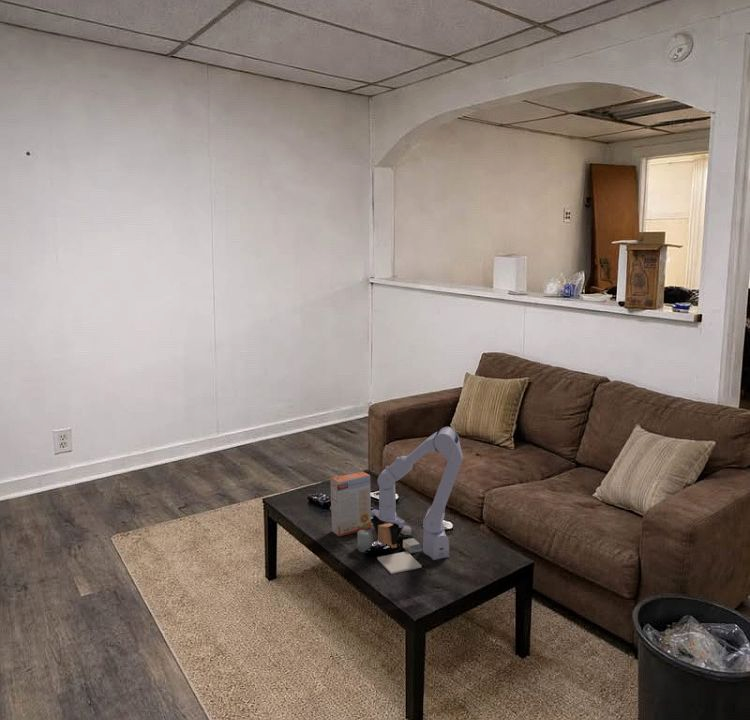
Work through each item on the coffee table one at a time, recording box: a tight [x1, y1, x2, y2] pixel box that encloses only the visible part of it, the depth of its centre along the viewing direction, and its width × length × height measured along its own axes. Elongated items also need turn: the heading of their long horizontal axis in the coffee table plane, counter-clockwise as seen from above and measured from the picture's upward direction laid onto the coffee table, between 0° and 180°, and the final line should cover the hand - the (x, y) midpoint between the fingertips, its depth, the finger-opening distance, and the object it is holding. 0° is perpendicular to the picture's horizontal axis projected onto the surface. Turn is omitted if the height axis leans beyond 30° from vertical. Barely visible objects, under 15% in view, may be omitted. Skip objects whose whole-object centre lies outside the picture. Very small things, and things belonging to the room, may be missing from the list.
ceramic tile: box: [376, 550, 423, 575], centre depth 207 cm, size 11×11×1 cm
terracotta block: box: [377, 522, 398, 549], centre depth 219 cm, size 5×5×7 cm
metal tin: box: [402, 537, 421, 555], centre depth 216 cm, size 5×4×3 cm
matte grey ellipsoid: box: [401, 524, 412, 536], centre depth 228 cm, size 6×6×2 cm
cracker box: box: [330, 471, 372, 538], centre depth 230 cm, size 14×6×21 cm, turn 122°
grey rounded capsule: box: [356, 529, 373, 553], centre depth 217 cm, size 5×5×6 cm
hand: (387, 540), depth 219 cm, fingers closed on terracotta block, 6 cm apart
